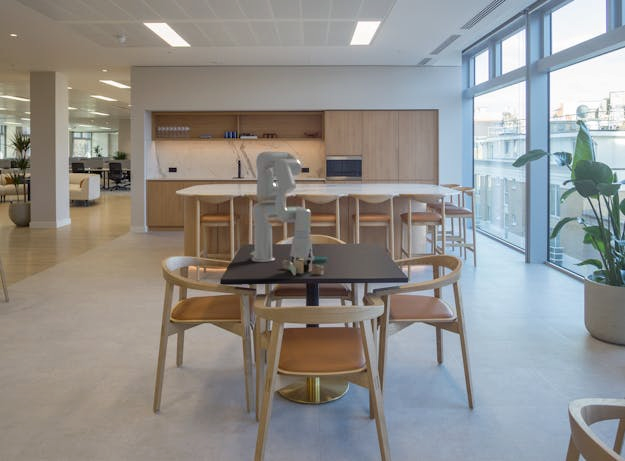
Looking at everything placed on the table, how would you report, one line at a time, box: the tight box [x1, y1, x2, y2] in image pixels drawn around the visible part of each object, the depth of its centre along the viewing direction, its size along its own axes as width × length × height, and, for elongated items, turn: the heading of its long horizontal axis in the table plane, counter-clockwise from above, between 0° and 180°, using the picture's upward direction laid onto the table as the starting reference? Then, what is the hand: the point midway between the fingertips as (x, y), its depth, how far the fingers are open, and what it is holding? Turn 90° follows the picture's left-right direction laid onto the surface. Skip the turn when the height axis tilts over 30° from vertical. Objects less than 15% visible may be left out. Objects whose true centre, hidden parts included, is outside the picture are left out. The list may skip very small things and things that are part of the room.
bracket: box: [299, 256, 328, 264], centre depth 313 cm, size 18×7×8 cm, turn 82°
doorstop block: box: [293, 258, 313, 275], centre depth 284 cm, size 5×8×6 cm, turn 142°
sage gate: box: [289, 261, 297, 276], centre depth 282 cm, size 15×2×4 cm, turn 9°
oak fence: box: [282, 260, 325, 276], centre depth 285 cm, size 25×2×4 cm, turn 51°
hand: (301, 270), depth 283 cm, fingers closed on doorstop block, 5 cm apart
